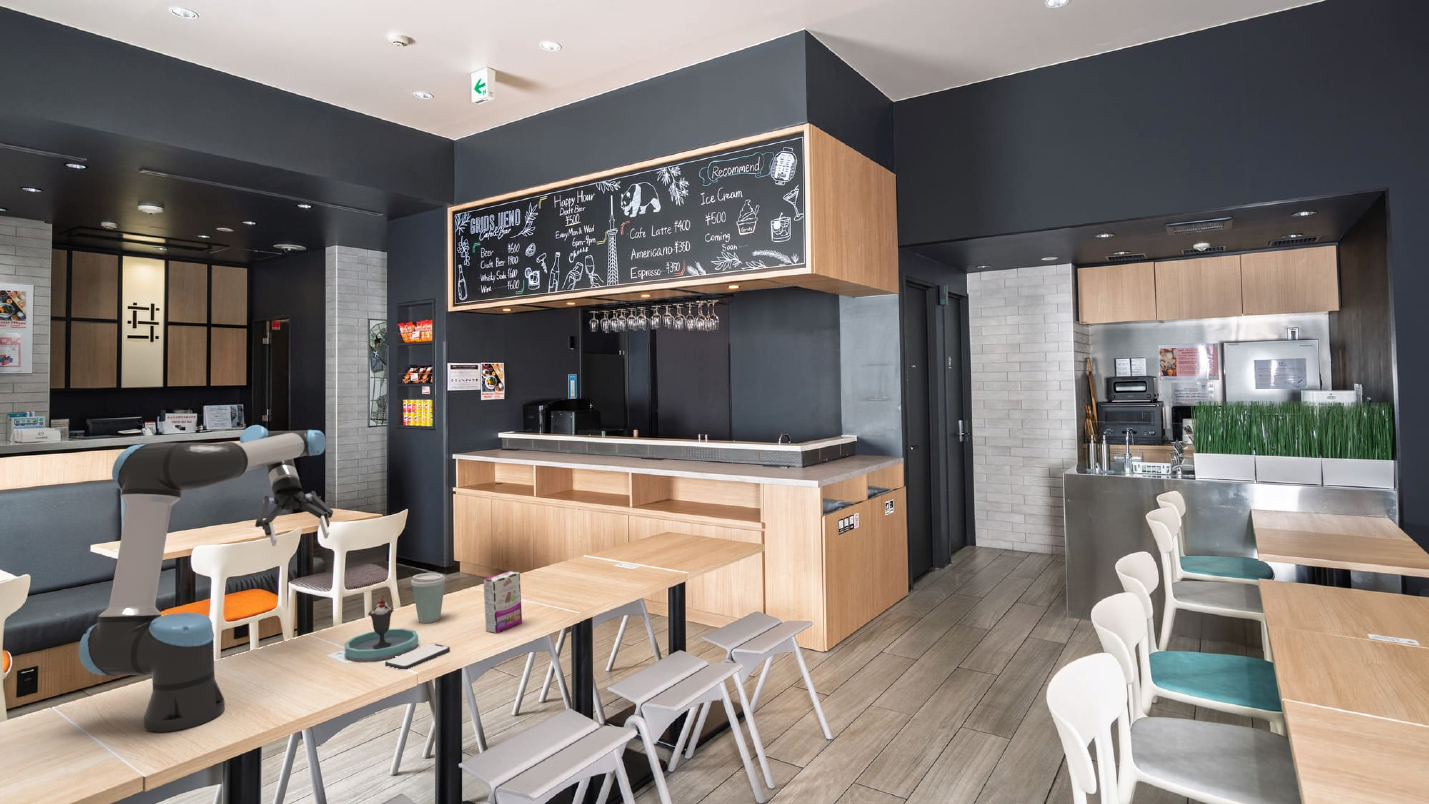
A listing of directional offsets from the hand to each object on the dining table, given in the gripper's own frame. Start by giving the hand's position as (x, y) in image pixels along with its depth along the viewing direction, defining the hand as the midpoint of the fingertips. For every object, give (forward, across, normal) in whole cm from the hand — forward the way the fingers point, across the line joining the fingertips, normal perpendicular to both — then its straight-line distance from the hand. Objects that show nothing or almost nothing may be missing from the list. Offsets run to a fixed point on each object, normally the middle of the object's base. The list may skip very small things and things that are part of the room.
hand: (301, 539), depth 212 cm
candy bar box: (+40, -50, -6) cm, 64 cm away
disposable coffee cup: (+22, -37, -24) cm, 50 cm away
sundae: (+34, -16, -11) cm, 39 cm away
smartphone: (+45, -21, -2) cm, 50 cm away
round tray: (+34, -16, -12) cm, 40 cm away
